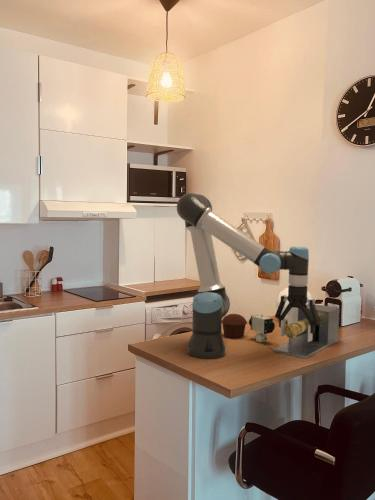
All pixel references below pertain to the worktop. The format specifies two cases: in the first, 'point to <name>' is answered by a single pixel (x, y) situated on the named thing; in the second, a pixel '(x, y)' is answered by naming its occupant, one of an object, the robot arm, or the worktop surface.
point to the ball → (285, 292)
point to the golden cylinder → (296, 328)
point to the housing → (314, 334)
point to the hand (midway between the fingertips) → (296, 338)
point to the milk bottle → (293, 315)
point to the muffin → (234, 326)
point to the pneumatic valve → (261, 326)
